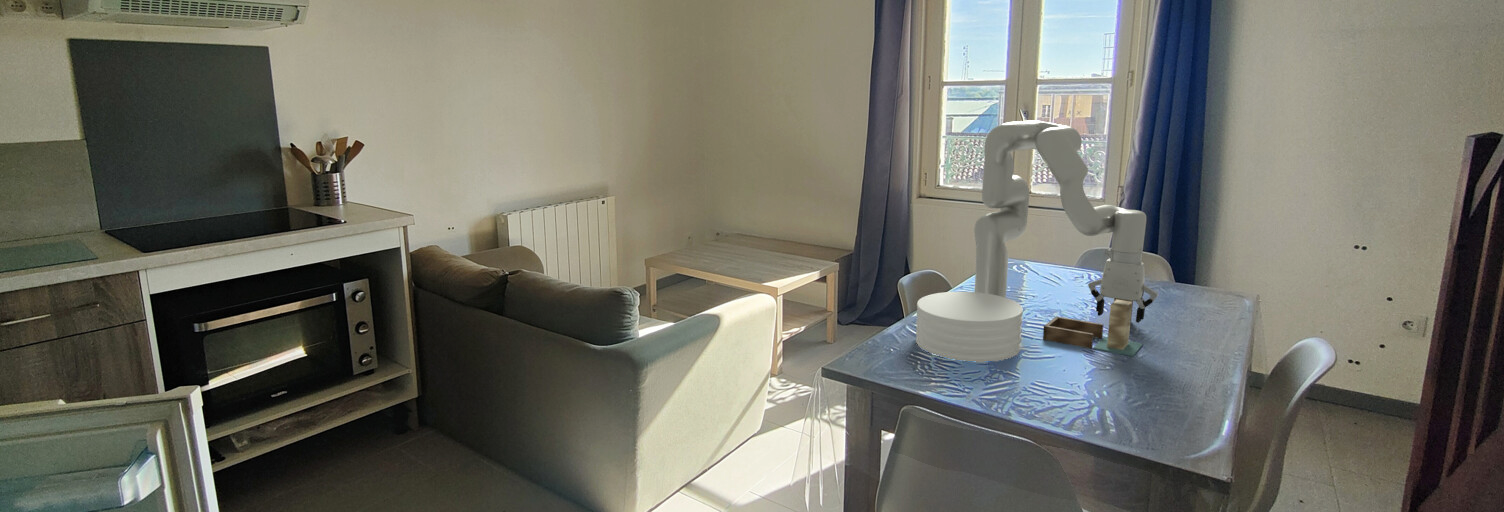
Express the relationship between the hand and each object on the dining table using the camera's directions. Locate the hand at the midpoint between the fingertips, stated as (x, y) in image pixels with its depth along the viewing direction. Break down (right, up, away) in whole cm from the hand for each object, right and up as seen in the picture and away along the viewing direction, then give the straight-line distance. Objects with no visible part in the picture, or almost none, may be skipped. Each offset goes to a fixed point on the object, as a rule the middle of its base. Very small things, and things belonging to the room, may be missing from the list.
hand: (1119, 317), depth 211 cm
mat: (0, -8, +1) cm, 8 cm away
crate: (-9, -7, +9) cm, 14 cm away
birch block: (0, -8, +1) cm, 8 cm away
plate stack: (-40, -8, +6) cm, 41 cm away
